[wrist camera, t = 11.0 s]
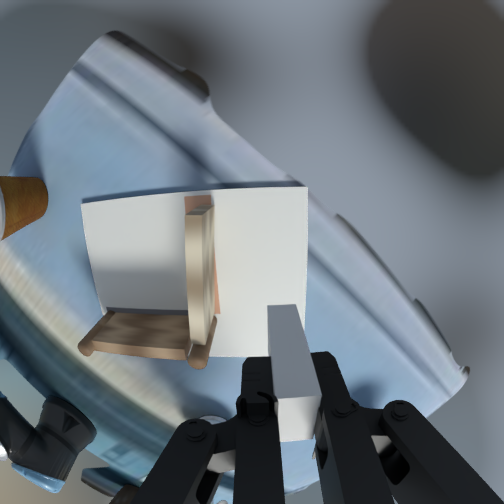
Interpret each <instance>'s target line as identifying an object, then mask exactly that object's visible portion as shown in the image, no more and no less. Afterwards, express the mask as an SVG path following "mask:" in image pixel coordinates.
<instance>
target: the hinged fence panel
mask: <svg viewBox="0 0 504 504" xmlns="http://www.w3.org/2000/svg"><path fill="white" fill-rule="evenodd" d="M214 221H215V205H200V206H198V207H196V208H195V209H193V210H192V211H190V212H189V213H187V214H185V258H186V281H187V299H188V314H189V327H190V339H191V344H199V345H205V344H206V341H207V337H208V334H209V330H210V327H211V323H212V320H213V316H214V313H215V292H214Z"/></svg>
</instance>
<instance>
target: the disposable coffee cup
mask: <svg viewBox="0 0 504 504" xmlns="http://www.w3.org/2000/svg"><path fill="white" fill-rule="evenodd" d="M47 205H48V193H47V189H46V186H45V184H44V183H43V181H42V180H41V179H39V178H36V177H35V178H34V177H11V176H0V241H1V240H3V239H5V238H6V237H8V236H10V235H11V234H13V233H15V232H16V231H18V230H20V229H22V228H23V227H25V226H26V225H28V224H30V223H32V222H34V221H36V220H37V219H39V218H41V217H42V216H43V215H44V214H45V212H46V209H47Z"/></svg>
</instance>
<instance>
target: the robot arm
mask: <svg viewBox="0 0 504 504" xmlns="http://www.w3.org/2000/svg"><path fill="white" fill-rule="evenodd" d="M267 322H268V356H262V357H247V359H246V360H245V362H244V363H243V364H242V382H241V395H240V396H239V397H238V398H237V401H236V409H237V414H236V415H235V416H234V417H233V418H231V419H230V420H228V421H225V422H221V423H217V424H211V423H210V422H208V421H206V420H204V419H196V418H195V419H190V420H187V421H185V422H183V423H181V424H180V425H179V426H178V428H177V429H176V431H175V432H174V434H173V436H172V437H171V439H170V441H169V442H168V444H167V445H166V447H165V449H164V450H163V452H162V453H161V455H160V457H159V458H158V460H157V462H156V463H155V465H154V466H153V468H152V469H151V471H150V473H149V474H148V476H147V477H146V479H145V481H144V482H143V484H142V485H141V487H140V488H139V490H138V491H137V493H136V495H135V496H134V498H133V499H132V501H131V502H130V504H211V502H212V500H213V497H214V495H215V493H216V490H217V488H218V486H219V483H220V481H221V479H222V476H223V474H224V472H226V471H230V470H235V475H234V493H233V504H285V496H284V483H283V471H282V458H281V446H280V442H287V441H298V440H308V439H313V436H314V434H315V439H316V444H315V448H314V452H313V457H312V459H315V457H316V460H317V466H318V472H319V478H320V484H321V490H322V496H323V502H324V504H395V503H394V500H393V497H394V499H395V500H396V501H397V503H398V504H504V502H503V501H502V500H501V499H500V498H499V496H498V495H497V494H496V493H495V492H494V491H493V490H492V489H491V488H490V487H489V486H488V484H487V483H486V482H485V481H484V480H483V479H482V478H481V477H480V476H479V475H478V474H477V472H476V471H475V470H474V469H473V468H472V467H471V466H470V465H469V464H468V463H467V462H466V461H465V460H464V458H463V457H462V456H461V455H460V454H459V453H458V452H457V451H456V450H455V449H454V448H453V447H452V446H451V445H450V444H449V443H448V441H446V439H445V438H444V437H443V436H442V435H441V434H440V433H439V432H438V431H437V430H436V429H435V428H434V427H433V426H432V425H431V423H430V422H429V421H428V420H427V419H426V418H425V417H424V416H423V415H422V414H421V413H420V412H419V411H418V410H417V409H416V408H415V407H414V406H413V405H412V404H411V403H409V402H407V401H404V400H395V401H392V402H389V403H388V404H387V405H386V406H385V407H384V409H370V408H364V407H361V406H359V404H358V403H357V402H356V401H354V400H353V399H351V397H350V395H349V392H348V390H347V387H346V384H345V382H344V379H343V377H342V374H341V371H340V369H339V367H338V364H337V361H336V359H335V357H334V356H333V355H331V354H330V353H329V352H328V351H325V352H315V353H310V350H309V347H308V343H307V340H306V336H305V333H304V330H303V326H302V323H301V319H300V316H299V313H298V309H297V306H296V304H287V305H267ZM42 408H43V410H42V412H41V415H40V419H39V423H38V425H37V426H36V427H35V428H34V427H33V426H32V425H31V424H30V423H29V422H28V421H27V420H26V419H25V418H24V417H23V416H22V415H21V414H20V413H19V412H18V411H17V410H16V409H15V408H14V407H13V405H12V404H11V403H10V402H9V401H8V400H7V397H6V396H5V395H3V394H2V392H1V391H0V461H1V460H2V461H5V460H7V458H9V459H10V460H11V461H12V462H13V463H12V468H13V469H14V470H15V471H17V472H18V473H19V474H21V475H22V476H24V477H25V478H26V479H28V480H30V481H31V482H33V483H35V484H36V485H38V486H40V487H42V488H43V489H45V490H48V491H50V492H52V493H58V492H59V491H60V490H61V488H62V486H63V484H64V483H65V480H66V479H67V476H68V474H69V472H70V470H71V468H72V466H73V464H74V462H75V460H76V457H77V455H78V454H79V452H81V451H82V450H83V449H84V448H85V447H86V446H87V445H88V444H90V443H91V442H93V440H94V438H95V437H96V434H97V432H96V429H95V427H94V426H93V424H92V423H91V422H90V421H89V420H88V419H87V418H86V417H85V416H84V415H83V414H82V413H81V412H80V411H78V410H77V409H76V408H75V407H73V406H72V405H70V404H69V403H67V402H65V401H64V400H62V399H59V398H57V397H53V396H49V397H48V398H47V399H46V400H45V402H44V403H43V407H42ZM392 496H393V497H392Z"/></svg>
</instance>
